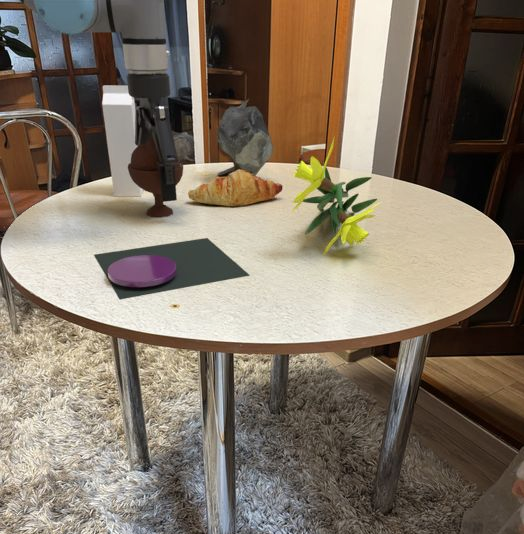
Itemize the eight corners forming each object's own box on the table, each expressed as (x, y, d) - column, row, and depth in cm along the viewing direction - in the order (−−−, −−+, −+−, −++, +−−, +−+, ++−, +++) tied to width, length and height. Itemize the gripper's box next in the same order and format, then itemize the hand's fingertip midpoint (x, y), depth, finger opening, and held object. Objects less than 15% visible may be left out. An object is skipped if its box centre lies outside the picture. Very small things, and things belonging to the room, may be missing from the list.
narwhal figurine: (213, 188, 122) (210, 105, 112) (217, 173, 135) (215, 97, 125) (273, 189, 122) (275, 107, 112) (271, 174, 135) (273, 98, 125)
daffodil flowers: (391, 220, 107) (401, 228, 74) (327, 252, 111) (310, 273, 78) (356, 144, 104) (351, 118, 71) (293, 180, 108) (260, 171, 75)
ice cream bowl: (184, 204, 111) (180, 129, 103) (187, 220, 101) (182, 140, 93) (134, 205, 109) (126, 130, 101) (132, 222, 100) (122, 141, 92)
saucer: (102, 270, 79) (101, 260, 78) (165, 260, 83) (164, 251, 82) (117, 296, 71) (116, 286, 70) (186, 284, 75) (185, 274, 74)
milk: (141, 197, 115) (130, 87, 103) (113, 196, 114) (99, 86, 102) (144, 189, 120) (133, 84, 108) (117, 189, 119) (104, 83, 108)
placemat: (94, 257, 84) (93, 254, 84) (207, 240, 92) (207, 237, 92) (120, 303, 71) (119, 299, 70) (250, 278, 78) (250, 275, 78)
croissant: (192, 223, 110) (192, 194, 104) (183, 190, 115) (183, 161, 108) (285, 214, 115) (291, 187, 109) (273, 183, 120) (278, 155, 113)
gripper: (191, 77, 84) (198, 206, 95) (148, 67, 102) (158, 175, 114) (146, 78, 81) (159, 211, 92) (110, 67, 99) (125, 179, 111)
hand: (158, 191), depth 103 cm, fingers open, 13 cm apart
